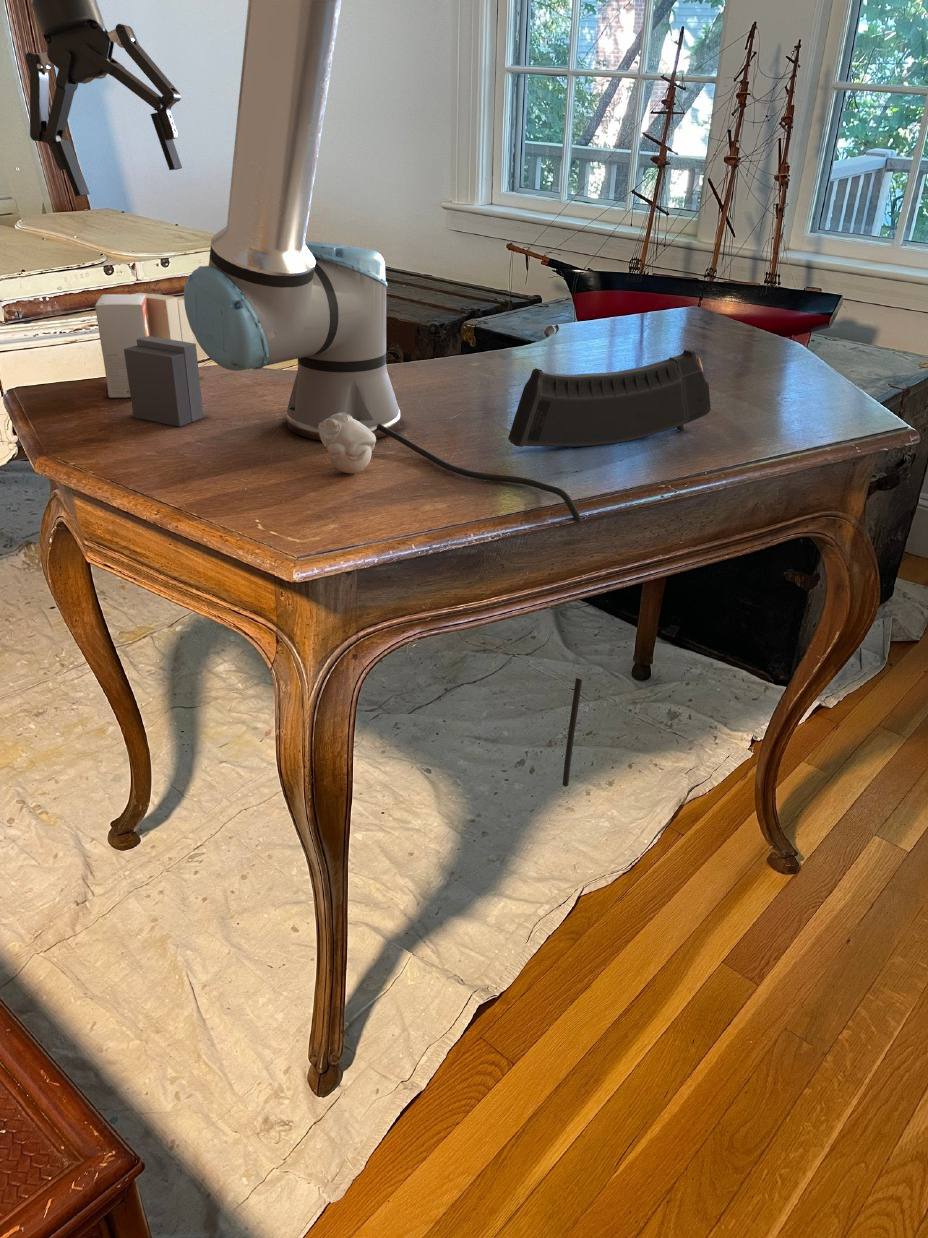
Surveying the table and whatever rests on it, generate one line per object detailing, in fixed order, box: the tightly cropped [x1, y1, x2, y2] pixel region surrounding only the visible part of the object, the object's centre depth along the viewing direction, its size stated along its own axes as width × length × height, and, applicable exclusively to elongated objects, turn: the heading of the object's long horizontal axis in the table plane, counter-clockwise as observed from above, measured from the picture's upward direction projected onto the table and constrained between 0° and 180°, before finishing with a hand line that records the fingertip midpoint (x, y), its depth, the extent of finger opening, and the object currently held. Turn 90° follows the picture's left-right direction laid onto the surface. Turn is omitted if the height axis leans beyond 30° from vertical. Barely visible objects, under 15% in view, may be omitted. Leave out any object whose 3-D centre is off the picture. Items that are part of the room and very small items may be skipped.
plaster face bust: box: [318, 413, 377, 474], centre depth 108 cm, size 6×7×7 cm
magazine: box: [507, 348, 712, 448], centre depth 121 cm, size 17×3×30 cm
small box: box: [95, 293, 151, 399], centre depth 133 cm, size 8×6×13 cm
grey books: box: [124, 336, 205, 427], centre depth 123 cm, size 8×5×10 cm, turn 65°
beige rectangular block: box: [130, 292, 194, 343], centre depth 139 cm, size 7×5×12 cm
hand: (129, 182), depth 120 cm, fingers open, 13 cm apart
